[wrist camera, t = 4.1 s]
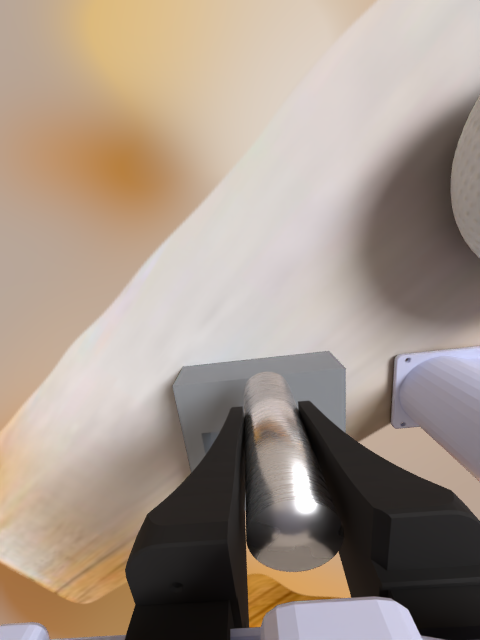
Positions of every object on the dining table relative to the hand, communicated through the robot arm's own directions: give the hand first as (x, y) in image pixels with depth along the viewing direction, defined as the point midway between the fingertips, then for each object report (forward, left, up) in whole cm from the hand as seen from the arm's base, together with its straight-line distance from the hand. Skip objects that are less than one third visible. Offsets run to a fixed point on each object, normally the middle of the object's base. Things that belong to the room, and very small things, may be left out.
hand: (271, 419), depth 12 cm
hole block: (0, +8, -9) cm, 12 cm away
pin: (0, 0, -2) cm, 3 cm away
